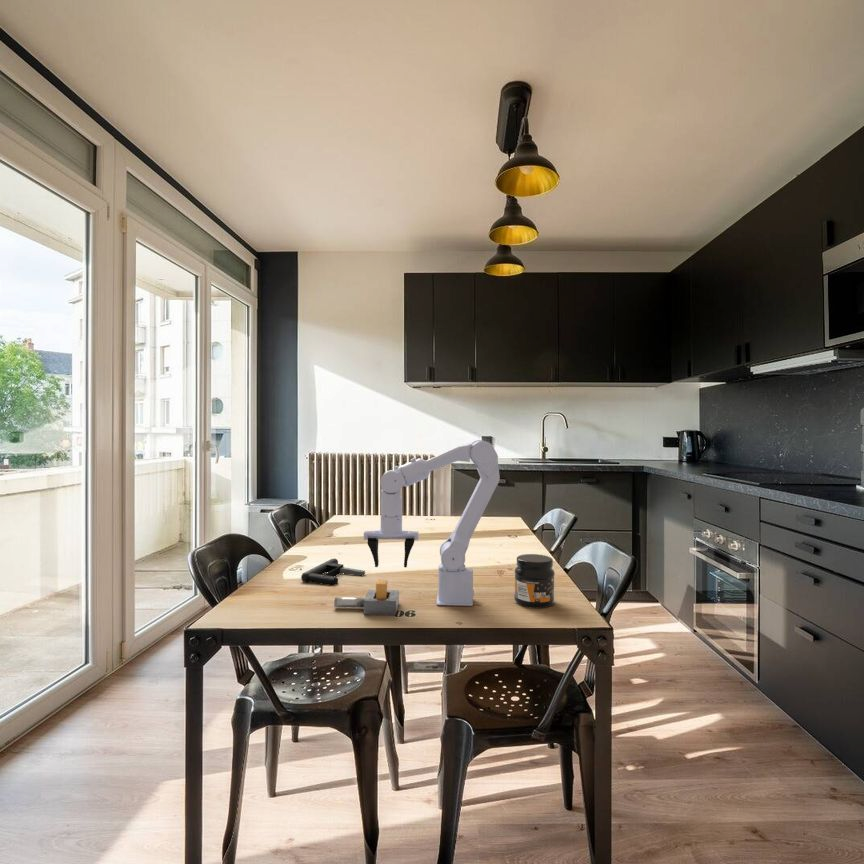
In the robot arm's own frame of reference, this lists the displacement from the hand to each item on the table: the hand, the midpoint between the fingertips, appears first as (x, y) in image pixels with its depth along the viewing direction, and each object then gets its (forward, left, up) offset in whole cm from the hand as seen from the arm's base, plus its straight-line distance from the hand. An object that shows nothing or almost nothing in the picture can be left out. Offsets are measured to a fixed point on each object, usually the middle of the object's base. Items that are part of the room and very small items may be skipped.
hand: (391, 566), depth 148 cm
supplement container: (-38, -1, -10) cm, 40 cm away
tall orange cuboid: (+2, +6, -9) cm, 11 cm away
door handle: (+19, -24, -10) cm, 32 cm away
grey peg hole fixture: (+6, +6, -9) cm, 13 cm away
